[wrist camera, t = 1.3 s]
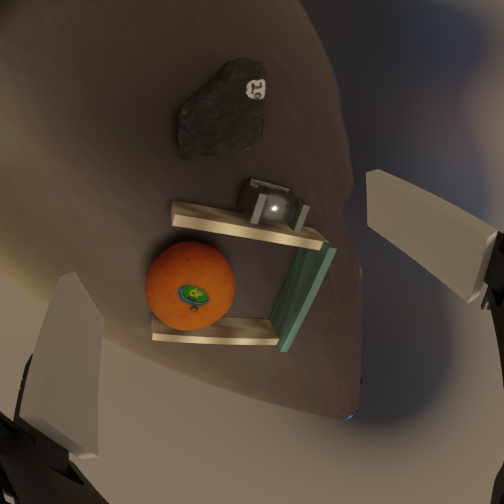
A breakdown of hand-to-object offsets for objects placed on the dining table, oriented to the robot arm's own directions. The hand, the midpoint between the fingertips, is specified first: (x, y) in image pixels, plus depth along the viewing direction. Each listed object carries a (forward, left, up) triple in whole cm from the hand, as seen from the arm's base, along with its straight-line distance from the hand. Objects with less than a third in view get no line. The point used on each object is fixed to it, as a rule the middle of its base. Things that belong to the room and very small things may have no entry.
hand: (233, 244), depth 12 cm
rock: (+2, +5, -22) cm, 23 cm away
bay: (+9, -14, -22) cm, 27 cm away
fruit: (+3, -14, -22) cm, 26 cm away
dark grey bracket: (+10, -3, -22) cm, 24 cm away
